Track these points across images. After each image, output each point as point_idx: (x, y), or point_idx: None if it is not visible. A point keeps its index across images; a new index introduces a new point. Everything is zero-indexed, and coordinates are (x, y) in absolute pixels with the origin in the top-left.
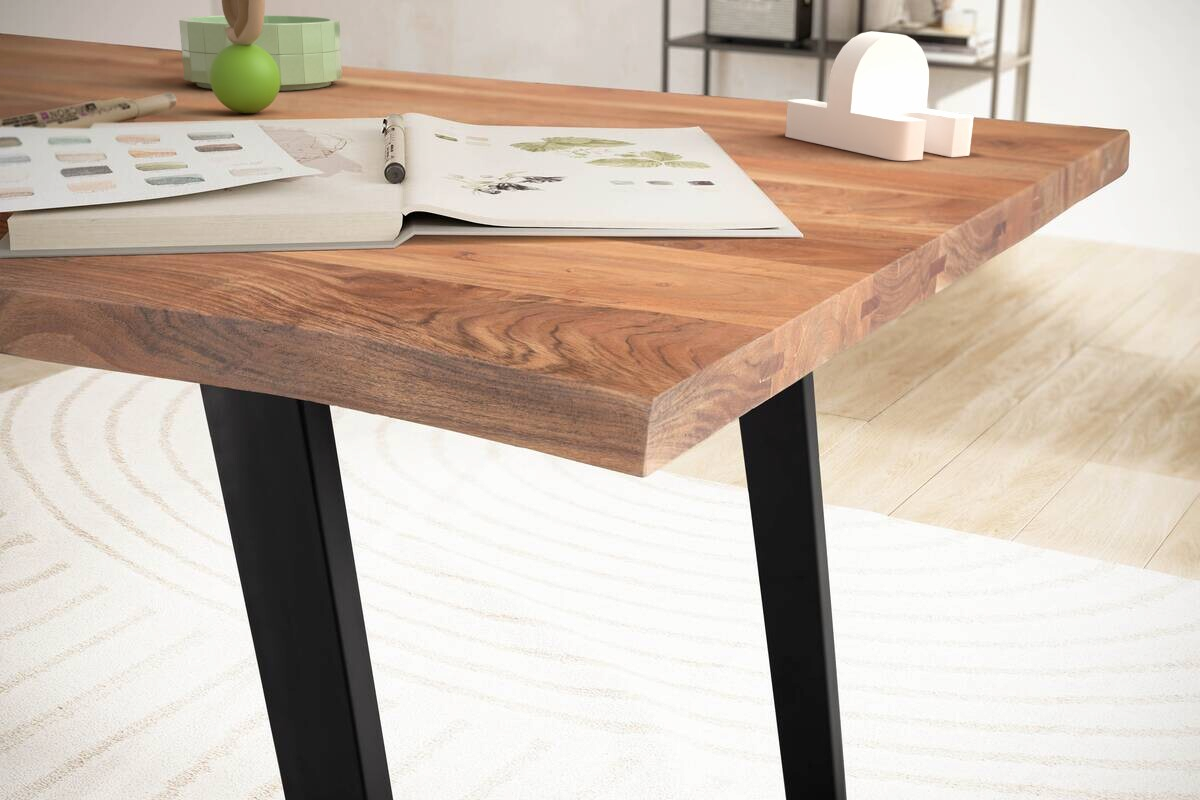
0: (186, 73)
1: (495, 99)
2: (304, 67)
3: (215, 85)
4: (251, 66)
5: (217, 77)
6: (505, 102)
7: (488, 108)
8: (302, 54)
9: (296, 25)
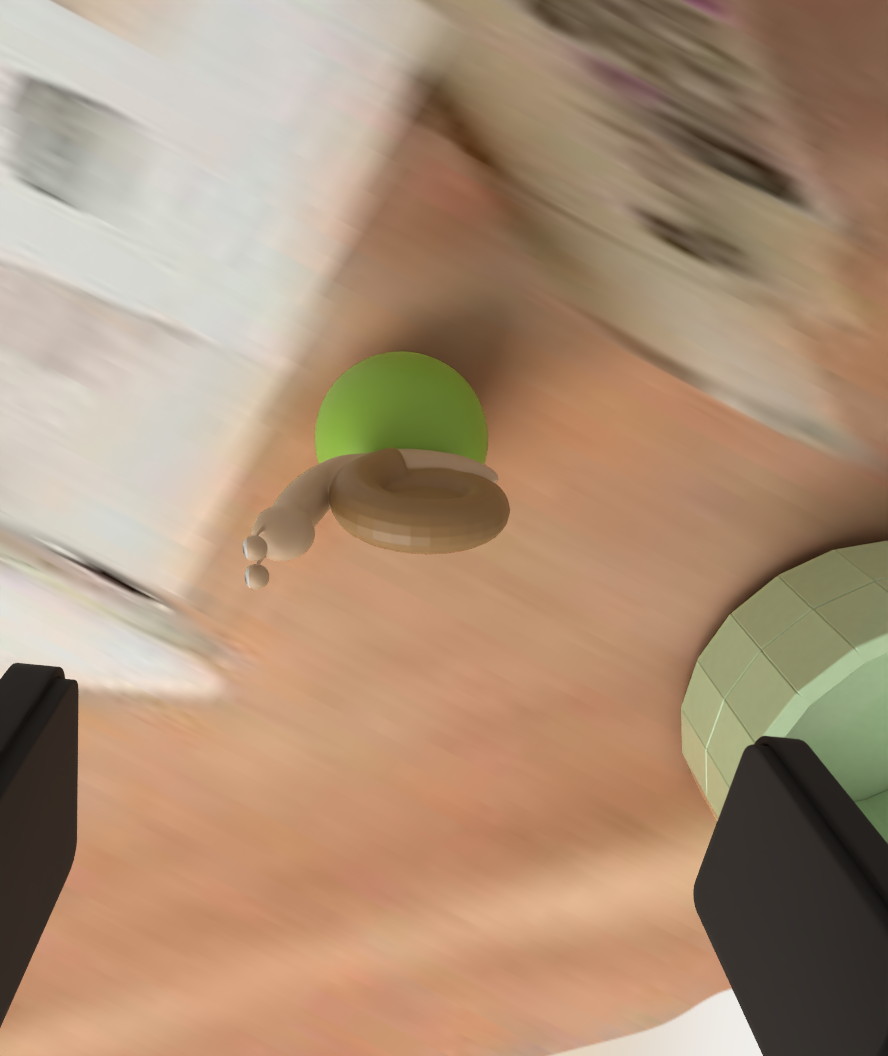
0: None
1: (327, 906)
2: (694, 731)
3: (397, 351)
4: (324, 429)
5: (383, 356)
6: (275, 897)
7: (208, 832)
8: (705, 747)
9: None
